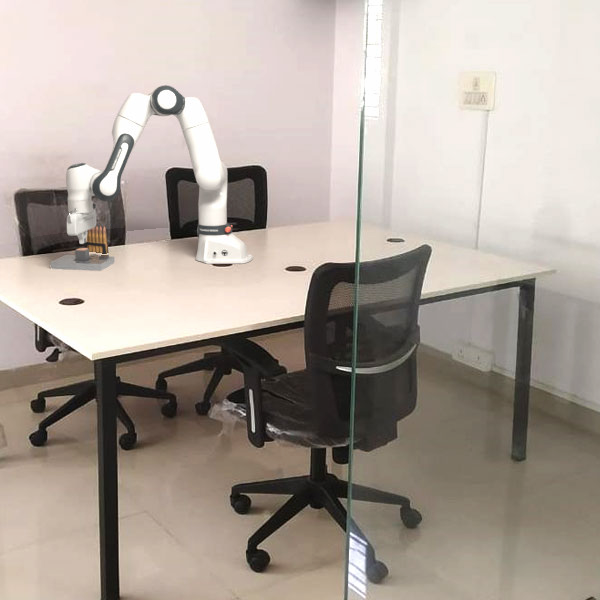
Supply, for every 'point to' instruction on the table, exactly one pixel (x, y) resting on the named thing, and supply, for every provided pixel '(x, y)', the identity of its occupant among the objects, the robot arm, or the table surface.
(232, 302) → the table surface
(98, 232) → the ammunition clip
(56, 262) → the socket plate
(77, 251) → the plug
